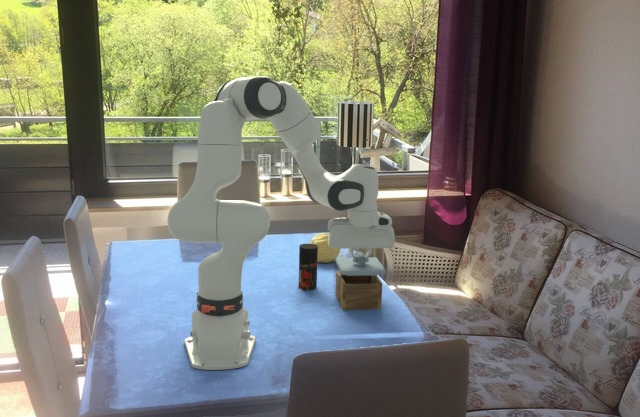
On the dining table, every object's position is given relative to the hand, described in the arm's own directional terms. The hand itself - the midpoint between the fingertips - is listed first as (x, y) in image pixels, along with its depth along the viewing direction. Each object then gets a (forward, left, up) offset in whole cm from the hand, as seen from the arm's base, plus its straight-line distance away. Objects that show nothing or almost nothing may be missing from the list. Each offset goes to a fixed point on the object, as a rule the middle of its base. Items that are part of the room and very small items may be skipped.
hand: (360, 261), depth 195 cm
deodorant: (+15, +14, -15) cm, 25 cm away
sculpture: (+45, +4, -15) cm, 47 cm away
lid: (0, 0, -2) cm, 2 cm away
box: (+1, 0, -14) cm, 14 cm away
